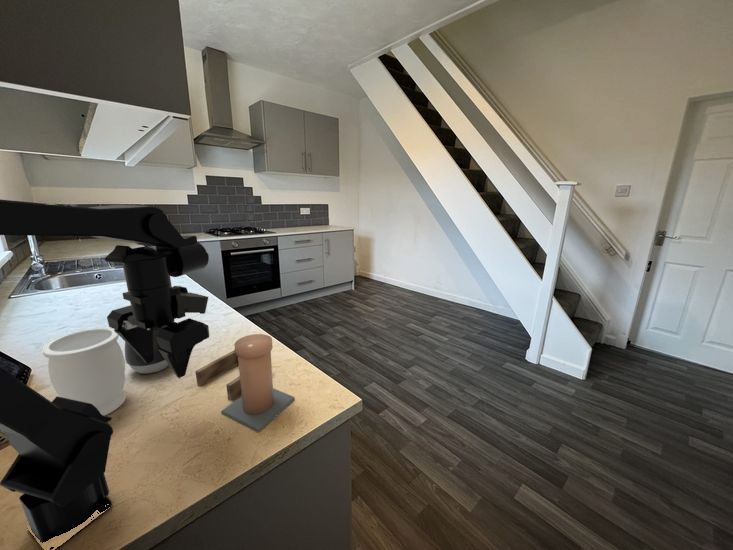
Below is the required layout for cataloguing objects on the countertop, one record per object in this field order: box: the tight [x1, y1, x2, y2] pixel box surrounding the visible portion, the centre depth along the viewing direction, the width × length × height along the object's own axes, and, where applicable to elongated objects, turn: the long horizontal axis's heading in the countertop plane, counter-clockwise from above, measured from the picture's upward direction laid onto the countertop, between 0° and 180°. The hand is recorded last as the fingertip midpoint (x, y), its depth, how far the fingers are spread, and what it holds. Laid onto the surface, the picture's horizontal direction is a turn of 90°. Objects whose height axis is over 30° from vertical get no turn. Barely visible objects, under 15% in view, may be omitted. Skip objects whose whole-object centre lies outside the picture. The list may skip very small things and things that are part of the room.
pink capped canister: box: [234, 333, 274, 414], centre depth 57 cm, size 7×7×14 cm
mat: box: [221, 387, 295, 433], centre depth 59 cm, size 10×10×1 cm
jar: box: [41, 327, 127, 416], centre depth 56 cm, size 11×10×15 cm
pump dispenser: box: [124, 330, 170, 374], centre depth 69 cm, size 10×10×15 cm
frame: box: [194, 349, 241, 401], centre depth 67 cm, size 11×11×4 cm
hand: (165, 368), depth 51 cm, fingers open, 9 cm apart
